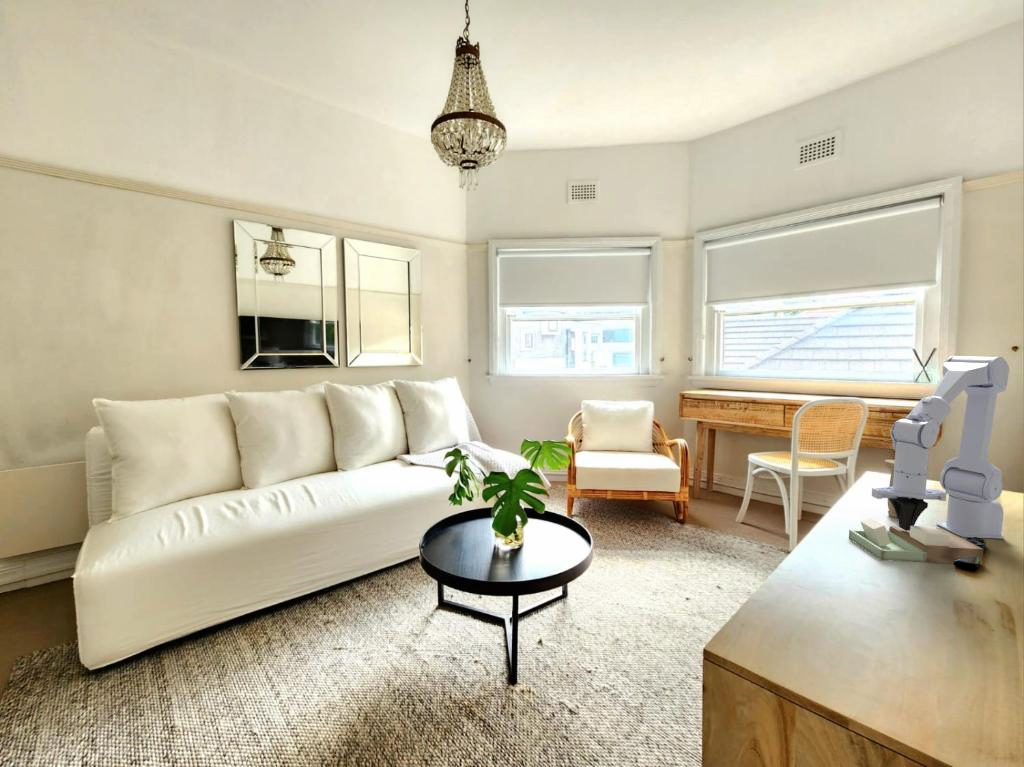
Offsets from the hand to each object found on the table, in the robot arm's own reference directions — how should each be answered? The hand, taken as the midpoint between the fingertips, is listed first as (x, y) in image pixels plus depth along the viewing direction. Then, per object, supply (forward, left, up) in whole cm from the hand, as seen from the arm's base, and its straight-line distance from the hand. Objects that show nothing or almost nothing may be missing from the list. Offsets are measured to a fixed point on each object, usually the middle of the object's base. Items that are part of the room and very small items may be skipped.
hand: (905, 528), depth 105 cm
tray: (+6, +2, -4) cm, 8 cm away
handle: (-11, -19, -4) cm, 22 cm away
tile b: (-1, +5, -1) cm, 5 cm away
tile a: (+5, 0, -1) cm, 5 cm away
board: (-4, +2, -4) cm, 6 cm away
